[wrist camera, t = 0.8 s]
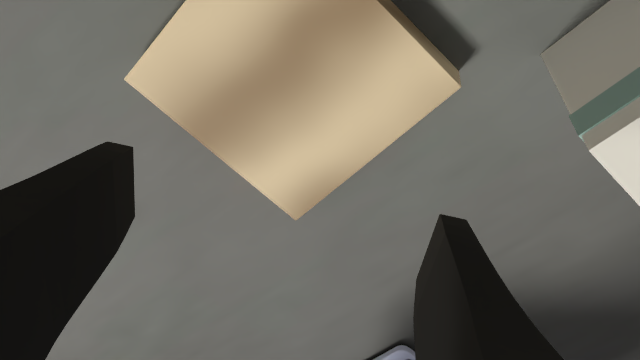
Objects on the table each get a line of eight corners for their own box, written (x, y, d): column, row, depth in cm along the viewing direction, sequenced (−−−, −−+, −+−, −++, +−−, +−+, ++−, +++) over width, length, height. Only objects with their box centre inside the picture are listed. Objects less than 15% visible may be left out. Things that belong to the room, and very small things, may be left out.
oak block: (457, 66, 22) (461, 86, 20) (303, 194, 26) (295, 220, 24) (283, -116, 19) (271, -109, 18) (144, 60, 23) (123, 79, 22)
